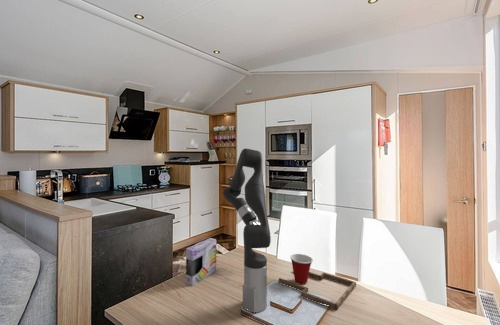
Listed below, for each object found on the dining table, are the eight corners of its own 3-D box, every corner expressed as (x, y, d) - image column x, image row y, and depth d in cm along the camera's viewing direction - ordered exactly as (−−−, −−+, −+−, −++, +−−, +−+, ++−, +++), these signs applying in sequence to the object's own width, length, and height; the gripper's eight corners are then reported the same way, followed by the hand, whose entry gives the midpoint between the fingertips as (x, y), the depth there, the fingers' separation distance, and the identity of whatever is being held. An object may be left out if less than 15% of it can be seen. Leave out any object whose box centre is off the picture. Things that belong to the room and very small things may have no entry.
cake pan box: (191, 287, 120) (191, 250, 120) (183, 284, 123) (183, 248, 122) (217, 271, 137) (217, 238, 136) (210, 269, 139) (209, 237, 139)
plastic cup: (315, 287, 120) (315, 262, 120) (291, 287, 120) (292, 261, 120) (310, 276, 131) (310, 253, 131) (288, 276, 131) (288, 253, 131)
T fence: (336, 310, 102) (337, 305, 102) (274, 286, 121) (274, 281, 121) (355, 286, 121) (356, 282, 121) (298, 268, 140) (298, 265, 140)
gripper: (242, 212, 140) (260, 239, 133) (257, 208, 150) (275, 233, 143) (235, 220, 143) (252, 247, 136) (250, 216, 154) (267, 241, 146)
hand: (264, 240), depth 139 cm, fingers closed
